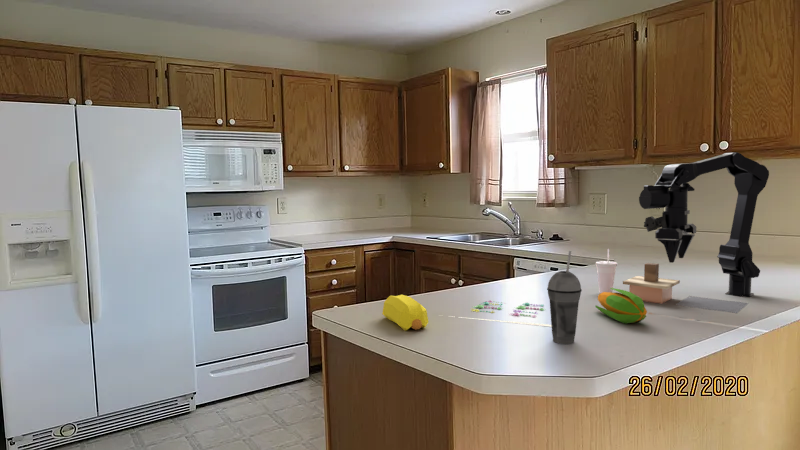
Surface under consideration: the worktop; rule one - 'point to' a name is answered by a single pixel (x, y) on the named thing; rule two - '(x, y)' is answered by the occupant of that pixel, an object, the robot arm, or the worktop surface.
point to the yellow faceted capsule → (405, 312)
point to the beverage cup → (564, 304)
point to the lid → (651, 278)
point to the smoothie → (606, 274)
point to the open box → (651, 294)
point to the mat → (712, 304)
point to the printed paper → (479, 306)
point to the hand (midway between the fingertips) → (676, 260)
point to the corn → (622, 306)
